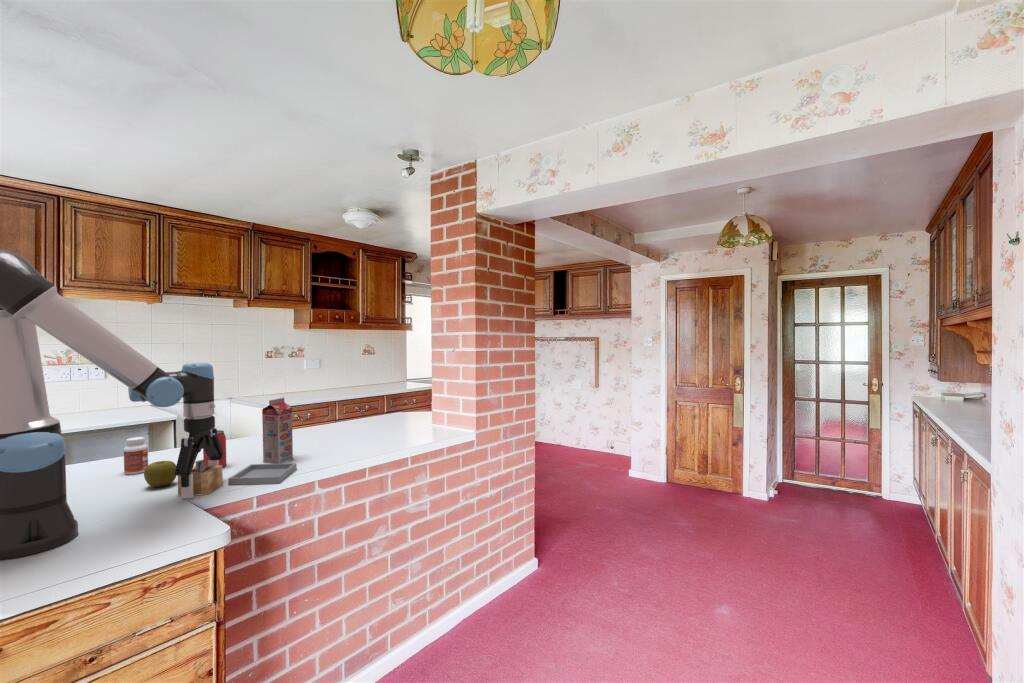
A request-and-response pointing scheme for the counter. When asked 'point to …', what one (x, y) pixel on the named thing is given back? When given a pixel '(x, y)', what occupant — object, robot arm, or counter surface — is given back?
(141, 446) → the pill bottle
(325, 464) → the counter surface
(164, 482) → the apple
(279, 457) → the juice carton
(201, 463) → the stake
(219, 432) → the beer can
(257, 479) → the tray
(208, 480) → the oak ring
